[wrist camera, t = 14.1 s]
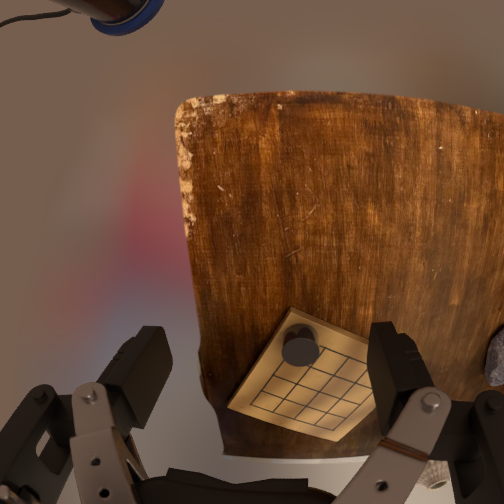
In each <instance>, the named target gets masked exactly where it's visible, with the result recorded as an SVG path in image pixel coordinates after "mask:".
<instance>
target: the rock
mask: <svg viewBox="0 0 504 504" xmlns="http://www.w3.org/2000/svg"><path fill="white" fill-rule="evenodd" d="M484 372H485V377H486V379H487V381H488V383H489V384H490V385H492V386H498V385H501V384H504V327H503V329H502V330H501V331H500V332H499V333H498V334H497V335H496V336H495V337H494V338H493V339H492V340H491V343H490V345H489V348H488V352H487V358H486V366H485V368H484Z"/></svg>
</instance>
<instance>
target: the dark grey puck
mask: <svg viewBox="0 0 504 504" xmlns="http://www.w3.org/2000/svg"><path fill="white" fill-rule="evenodd" d="M281 354H282V357H283V359H284V361H285V362H287V363H288V364H290V365H292V366H296V367H304V366H308V365H310V364H312V363H314V362H315V361H316V360H317V359H318V357H319V354H320V348H319V337H318V333H317V331H316V330H315V329H314V328H313V327H312V326H310V325H307V324H295V325H292V326H290V327H289V328H287V329H286V330H285V332H284V333H283V337H282V351H281Z"/></svg>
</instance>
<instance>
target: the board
mask: <svg viewBox="0 0 504 504" xmlns="http://www.w3.org/2000/svg"><path fill="white" fill-rule="evenodd" d="M295 324H307V325H310V326H312V327H313V328H314V329H315V330H316V331H317V333H318V337H319V348H320V354H319V357H318V359H317V360H316V361H315V362H314V363H312V364H310V365H308V366H304V367H296V366H292V365H290V364H288V363H287V362H285V361H284V359H283V357H282V354H281V351H282V337H283V333H284V332H285V330H286V329H287V328H289V327H290V326H292V325H295ZM368 344H369V340H368V339H365V338H363V337H360V336H358V335H356V334H353V333H351V332H349V331H346V330H344V329H342V328H339V327H337V326H335V325H332V324H330V323H328V322H325V321H323V320H321V319H318V318H316V317H314V316H312V315H309V314H307V313H305V312H302V311H300V310H298V309H296V308H293V307H290V308H289V310H288V312H287V313H286V315H285V316H284V318H283V320H282V321H281V323H280V324H279V326H278V328H277V329H276V331H275V332H274V334H273V336H272V337H271V339H270V340H269V342H268V343H267V345H266V346H265V348H264V350H263V351H262V353H261V354H260V356H259V357H258V359H257V360H256V362H255V363H254V365H253V366H252V368H251V369H250V371H249V372H248V374H247V375H246V377H245V378H244V380H243V381H242V383H241V384H240V386H239V387H238V389H237V390H236V392H235V393H234V394H233V396H232V397H231V399H230V400H229V402H228V406H227V407H228V408H230V409H233V410H235V411H238V412H241V413H243V414H246V415H249V416H252V417H255V418H258V419H261V420H263V421H266V422H269V423H273V424H276V425H279V426H282V427H285V428H288V429H292V430H295V431H299V432H302V433H306V434H309V435H313V436H317V437H320V438H324V439H328V440H332V441H336V442H337V441H338V440H339V439H341V438H342V437H343V436H344V435H345V434H346V433H348V432H349V431H350V430H351V429H352V428H353V427H354V426H356V425H357V424H358V423H359V422H360V421H361V420H362V419H363V418H364V417H365V416H366V415H368V414H369V413H370V412H371V411H372V410H373V409H374V408H375V407H376V405H375V400H374V396H373V391H372V387H371V383H370V379H369V375H368V370H367V351H368Z"/></svg>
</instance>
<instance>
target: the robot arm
mask: <svg viewBox="0 0 504 504" xmlns="http://www.w3.org/2000/svg"><path fill="white" fill-rule="evenodd" d="M49 1H52V2H54V3H57V4H60V5H63V6H65V7H67V8H68V9H66V10H63V11H59V12H52V13H43V14H37V15H24V16H17V17H14V18H11V19H8V20H5V21H3V22H1V23H0V27H2V26H4V25H7V24H9V23H12V22H16V21H21V20H36V19H43V18H53V17H60V16H64V15H67V14H69V13H70V12H75V13H80V14H85V15H87V16H89V17H91V18H93V19H96V20H98V21H100V22H101V23H103V24H105V25H108V26H119V25H122V24H125V23H128V22H130V21H131V20H133V19H135V18H136V17H137V16H139V15H140V14H141V13H142V12H143V11H144V10H145V9H146V7H147V6H148V5H149V3H150V1H151V0H49ZM172 365H173V360H172V354H171V351H170V348H169V345H168V341H167V338H166V334H165V331H164V329H163V327H161V326H143V327H142V328H141V330H140V331H139V332H138V334H137V335H136V337H132V338H130V339H129V340H128V341H126V342H125V343H124V344H123V345H122V346H121V348H120V349H119V350H118V353H117V354H116V355H115V356H114V357H113V360H111V361H110V363H109V364H108V366H107V367H106V369H105V370H104V371H103V373H102V374H101V376H100V377H99V379H98V380H97V381H96V382H90V383H86V384H83V385H81V386H80V387H78V388H77V389H76V390H75V391H74V393H73V395H57V393H56V391H55V390H54V388H53V387H52V386H50V385H47V384H43V385H39V386H36V387H34V388H33V389H32V390H31V391H30V392H29V393H28V394H27V395H26V397H25V398H24V399H23V401H22V402H21V403H20V405H19V406H18V408H17V409H16V410H15V412H14V413H13V414H12V416H11V417H10V419H9V420H8V422H7V423H6V424H5V426H4V427H3V429H2V430H1V432H0V504H56V503H57V500H58V498H59V496H60V494H61V491H62V489H63V487H64V485H65V483H66V481H67V479H68V477H69V475H70V473H71V470H72V468H73V467H74V472H75V477H76V482H77V487H78V492H79V496H80V500H81V504H404V503H405V501H406V499H407V498H408V496H409V495H410V493H411V491H412V489H413V488H414V485H415V484H416V483H417V481H418V479H419V477H420V475H421V474H422V472H423V470H424V468H425V466H426V464H427V462H428V460H433V461H447V463H448V468H449V472H450V477H451V482H452V487H453V492H454V498H455V503H456V504H504V394H502V393H500V392H498V391H494V390H488V391H484V392H482V393H480V394H479V395H478V396H477V398H476V399H475V401H474V402H464V401H453V400H451V399H450V397H449V396H448V394H447V393H446V392H444V391H443V390H441V389H439V388H436V387H435V386H434V384H433V381H432V379H431V377H430V375H429V372H428V370H427V368H426V366H425V363H424V361H423V360H422V357H421V355H420V353H419V352H418V348H417V346H416V344H415V342H414V341H413V340H412V339H411V338H410V337H409V336H408V335H406V334H405V333H401V334H397V332H396V330H395V327H394V325H393V323H392V322H391V321H389V322H377V323H372V324H371V328H370V336H369V344H368V351H367V370H368V375H369V379H370V383H371V387H372V391H373V396H374V400H375V405H376V409H377V414H378V418H379V423H380V428H381V433H382V437H383V436H386V438H385V439H384V440H381V441H380V442H379V443H378V444H377V446H376V447H375V449H374V450H373V451H372V453H371V454H370V456H369V457H368V458H367V460H366V461H365V463H364V464H363V465H362V467H361V468H360V469H359V471H358V472H357V473H356V474H355V476H354V477H353V478H352V480H351V481H350V482H349V483H348V485H347V486H346V487H345V488H344V490H343V491H342V492H341V493H340V494H339V495H338V497H337V496H335V495H333V494H331V493H329V492H326V491H323V490H320V489H317V488H312V487H308V478H302V479H266V480H261V481H254V482H247V483H240V484H232V483H229V482H225V481H222V480H219V479H216V478H214V477H211V476H208V475H205V474H202V473H198V472H191V471H185V470H179V469H174V468H169V469H168V472H167V474H166V476H161V477H153V478H149V477H148V476H147V474H146V472H145V470H144V467H143V465H142V462H141V460H140V457H139V454H138V452H137V449H136V446H135V443H134V441H133V438H132V436H131V434H130V431H131V429H132V427H135V428H140V429H144V427H145V425H146V423H147V421H148V419H149V417H150V414H151V412H152V410H153V408H154V406H155V403H156V402H157V399H158V397H159V395H160V393H161V391H162V389H163V387H164V385H165V383H166V381H167V379H168V377H169V374H170V372H171V370H172ZM45 430H46V431H47V433H48V434H49V435H50V439H49V440H48V442H47V444H46V445H45V447H44V449H43V450H42V452H41V454H40V456H39V458H38V456H37V454H36V446H37V444H38V442H39V440H40V439H41V437H42V435H43V434H44V432H45Z"/></svg>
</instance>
